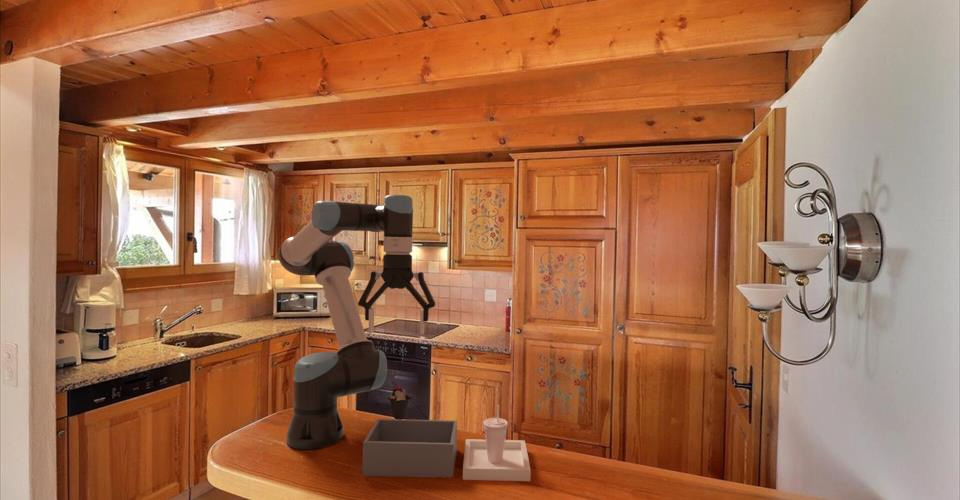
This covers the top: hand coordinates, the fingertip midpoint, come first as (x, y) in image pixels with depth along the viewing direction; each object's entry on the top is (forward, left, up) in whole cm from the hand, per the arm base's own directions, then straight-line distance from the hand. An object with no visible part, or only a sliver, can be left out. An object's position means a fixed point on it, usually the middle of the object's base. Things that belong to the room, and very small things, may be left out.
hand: (396, 333), depth 121 cm
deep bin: (+8, 0, -32) cm, 33 cm away
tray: (+23, +15, -32) cm, 42 cm away
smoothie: (+23, +15, -31) cm, 41 cm away
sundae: (-10, +8, -32) cm, 34 cm away
